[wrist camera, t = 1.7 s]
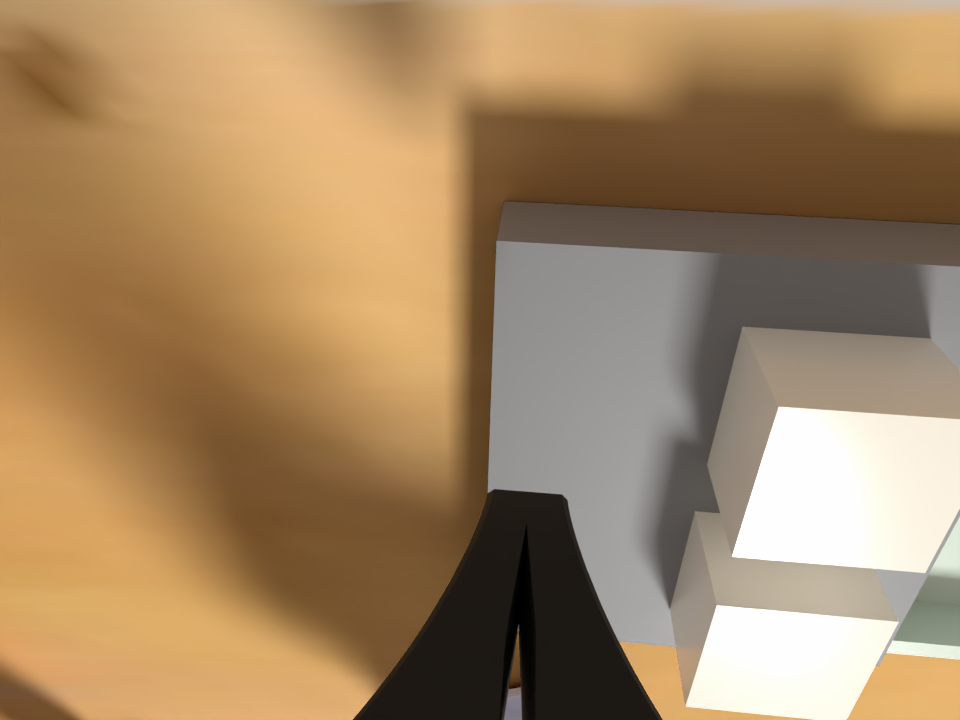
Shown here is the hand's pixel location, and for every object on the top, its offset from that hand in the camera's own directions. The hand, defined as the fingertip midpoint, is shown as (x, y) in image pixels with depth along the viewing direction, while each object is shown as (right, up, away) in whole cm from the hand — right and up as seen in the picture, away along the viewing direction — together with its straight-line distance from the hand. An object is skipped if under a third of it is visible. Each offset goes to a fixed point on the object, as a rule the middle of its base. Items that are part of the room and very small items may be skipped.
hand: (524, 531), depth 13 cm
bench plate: (+6, +1, +7) cm, 9 cm away
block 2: (+7, -3, +5) cm, 9 cm away
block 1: (+7, +1, +2) cm, 7 cm away
